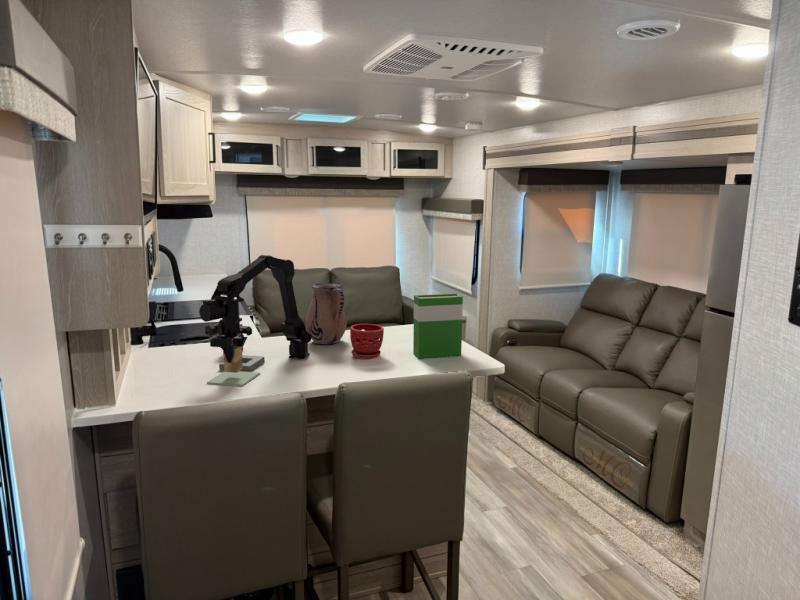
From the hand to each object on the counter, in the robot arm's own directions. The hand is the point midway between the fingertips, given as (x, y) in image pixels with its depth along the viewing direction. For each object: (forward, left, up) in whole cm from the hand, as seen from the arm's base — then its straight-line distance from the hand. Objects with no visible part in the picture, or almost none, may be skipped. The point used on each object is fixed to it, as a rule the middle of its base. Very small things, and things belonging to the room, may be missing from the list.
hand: (233, 360), depth 187 cm
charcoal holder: (+4, -14, -7) cm, 16 cm away
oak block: (0, 0, -4) cm, 4 cm away
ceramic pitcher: (-17, -52, -7) cm, 55 cm away
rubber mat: (0, 0, -7) cm, 7 cm away
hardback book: (-65, -43, -7) cm, 78 cm away
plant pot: (-38, -36, -7) cm, 53 cm away
